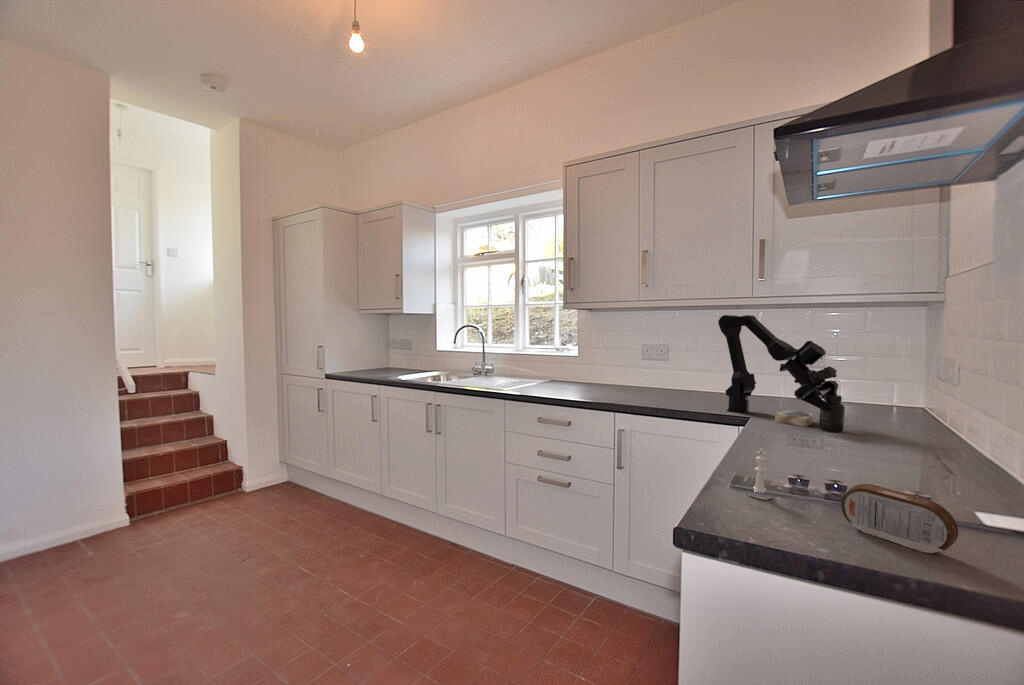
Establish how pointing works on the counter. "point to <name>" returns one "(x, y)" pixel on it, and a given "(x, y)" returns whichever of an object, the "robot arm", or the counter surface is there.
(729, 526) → the counter surface
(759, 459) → the chess piece
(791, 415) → the birch plinth
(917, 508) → the tin
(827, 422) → the supplement bottle
